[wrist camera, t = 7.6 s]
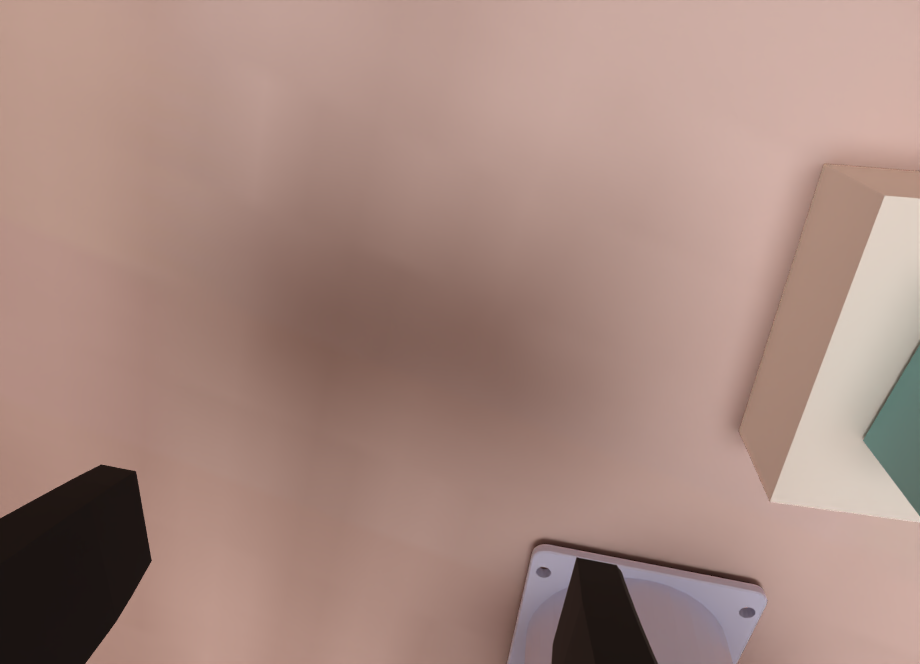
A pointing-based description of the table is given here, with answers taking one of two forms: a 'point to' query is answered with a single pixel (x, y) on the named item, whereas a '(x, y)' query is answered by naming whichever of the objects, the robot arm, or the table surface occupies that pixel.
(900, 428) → the teal block
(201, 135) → the table surface
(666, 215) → the table surface
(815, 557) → the table surface
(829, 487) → the base block
